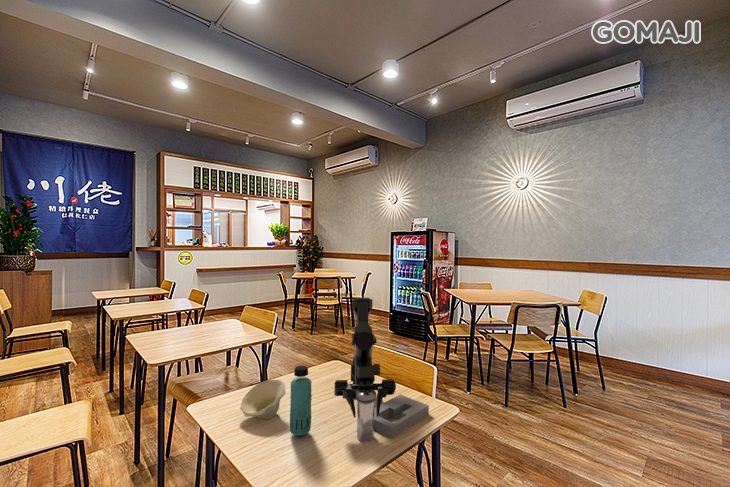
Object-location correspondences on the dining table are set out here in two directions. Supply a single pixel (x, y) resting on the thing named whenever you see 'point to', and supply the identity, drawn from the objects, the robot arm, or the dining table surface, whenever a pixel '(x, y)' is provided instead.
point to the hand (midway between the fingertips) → (366, 416)
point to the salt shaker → (365, 414)
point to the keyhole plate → (396, 407)
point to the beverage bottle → (300, 402)
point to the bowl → (263, 399)
